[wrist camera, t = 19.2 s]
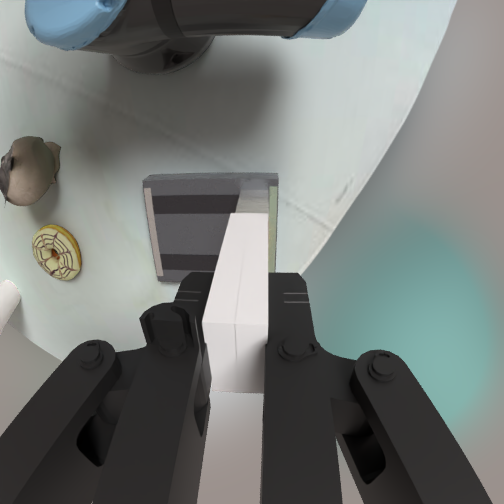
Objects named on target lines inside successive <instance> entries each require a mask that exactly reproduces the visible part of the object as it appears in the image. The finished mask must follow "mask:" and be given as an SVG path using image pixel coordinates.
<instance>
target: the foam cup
mask: <svg viewBox="0 0 504 504" xmlns="http://www.w3.org/2000/svg"><path fill="white" fill-rule="evenodd" d="M20 299H21V295H20V292H19V290H18V288H17V287H16V286H15V284H14V283H12V282H11V281H10V280H4V281H3V282H1V283H0V335H1V332H2V330H3V328H4V326H5V325H6V323H7V321H8V320H9V318H10V316H11V315H12V313H13V311H14V310H15V308H16V306H17V305H18V303H19V301H20Z"/></svg>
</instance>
